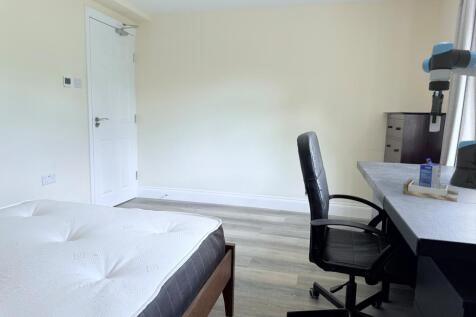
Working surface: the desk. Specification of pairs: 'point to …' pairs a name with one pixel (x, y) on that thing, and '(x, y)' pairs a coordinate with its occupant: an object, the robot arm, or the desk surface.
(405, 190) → the backstop
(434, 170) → the ink cartridge box
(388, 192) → the desk surface
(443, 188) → the caddy
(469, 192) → the desk surface
